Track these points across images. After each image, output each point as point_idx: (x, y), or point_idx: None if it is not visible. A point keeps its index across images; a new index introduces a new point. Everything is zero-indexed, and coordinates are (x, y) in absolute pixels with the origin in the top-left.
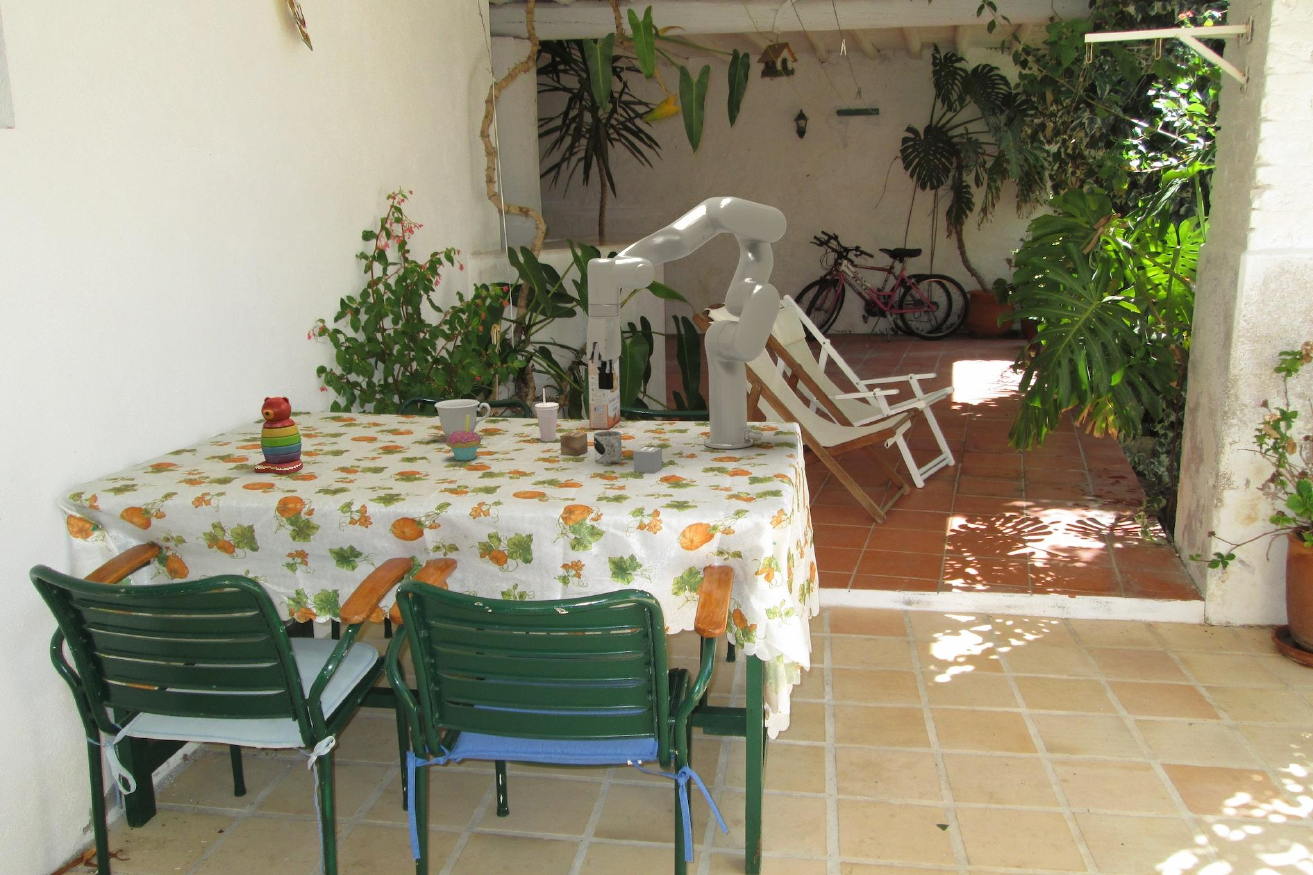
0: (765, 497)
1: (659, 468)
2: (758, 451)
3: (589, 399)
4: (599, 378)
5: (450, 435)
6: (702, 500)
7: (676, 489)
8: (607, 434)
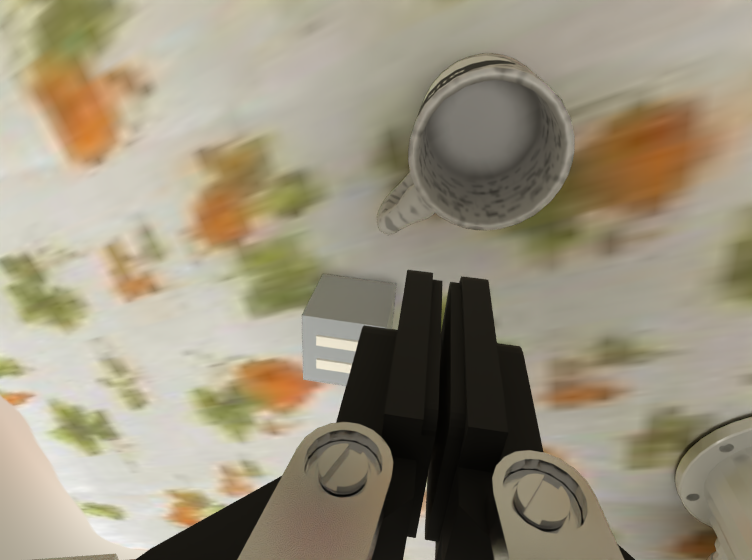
0: None
1: None
2: (641, 532)
3: None
4: (394, 358)
5: None
6: (137, 459)
7: (189, 408)
8: (558, 127)
